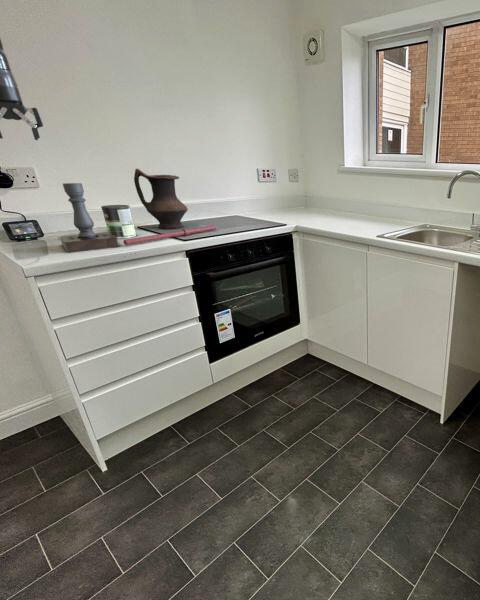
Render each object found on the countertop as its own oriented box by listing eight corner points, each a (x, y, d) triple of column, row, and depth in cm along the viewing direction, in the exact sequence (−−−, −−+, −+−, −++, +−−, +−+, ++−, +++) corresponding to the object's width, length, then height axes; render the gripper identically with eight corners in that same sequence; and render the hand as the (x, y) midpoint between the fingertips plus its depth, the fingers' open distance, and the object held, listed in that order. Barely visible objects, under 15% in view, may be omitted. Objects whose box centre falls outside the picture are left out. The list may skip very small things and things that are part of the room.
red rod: (213, 230, 187) (212, 224, 186) (217, 230, 186) (216, 224, 185) (123, 245, 148) (121, 238, 147) (128, 246, 147) (126, 239, 146)
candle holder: (99, 243, 150) (82, 183, 141) (100, 246, 146) (82, 184, 137) (80, 245, 147) (61, 183, 138) (80, 248, 142) (61, 184, 133)
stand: (68, 252, 136) (65, 242, 135) (62, 245, 146) (59, 236, 144) (118, 246, 147) (116, 237, 146) (110, 240, 157) (108, 231, 156)
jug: (187, 223, 203) (177, 168, 192) (193, 228, 190) (183, 169, 179) (143, 226, 191) (130, 167, 180) (147, 231, 177) (132, 169, 166)
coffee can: (110, 239, 159) (101, 207, 154) (108, 235, 166) (100, 205, 161) (138, 237, 165) (130, 206, 160) (135, 233, 172) (127, 204, 167)
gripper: (30, 90, 123) (46, 140, 128) (-32, 82, 113) (-12, 138, 119) (32, 88, 118) (48, 140, 124) (-33, 80, 108) (-12, 137, 114)
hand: (19, 139), depth 121 cm, fingers open, 8 cm apart
